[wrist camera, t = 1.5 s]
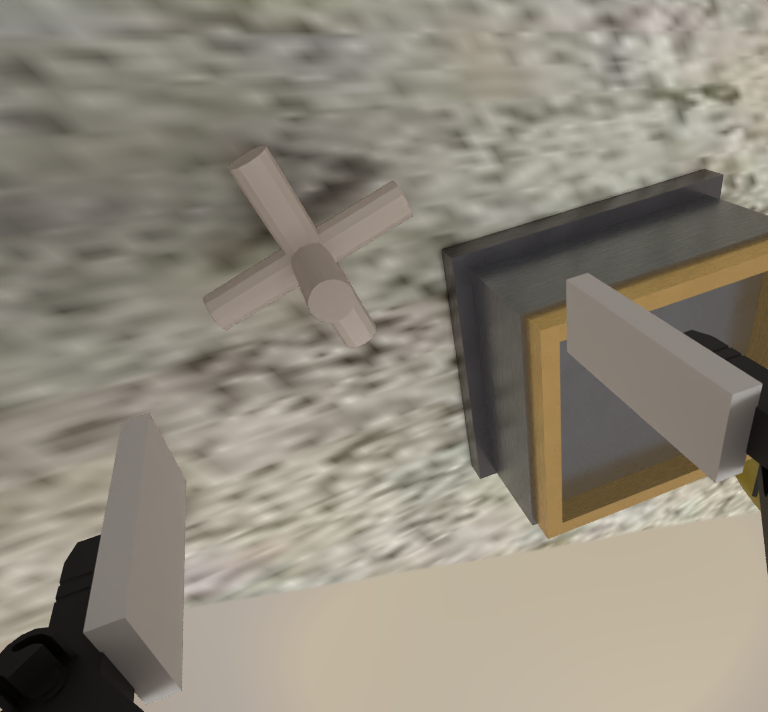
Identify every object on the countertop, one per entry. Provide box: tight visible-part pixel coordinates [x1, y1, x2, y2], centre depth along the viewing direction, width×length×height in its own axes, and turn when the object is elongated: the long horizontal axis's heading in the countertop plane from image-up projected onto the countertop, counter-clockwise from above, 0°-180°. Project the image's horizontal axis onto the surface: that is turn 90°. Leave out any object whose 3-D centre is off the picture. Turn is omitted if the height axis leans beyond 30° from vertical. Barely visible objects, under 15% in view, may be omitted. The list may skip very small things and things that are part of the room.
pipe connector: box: [203, 145, 413, 348], centre depth 26 cm, size 10×10×10 cm
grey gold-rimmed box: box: [442, 169, 768, 539], centre depth 36 cm, size 18×22×9 cm
